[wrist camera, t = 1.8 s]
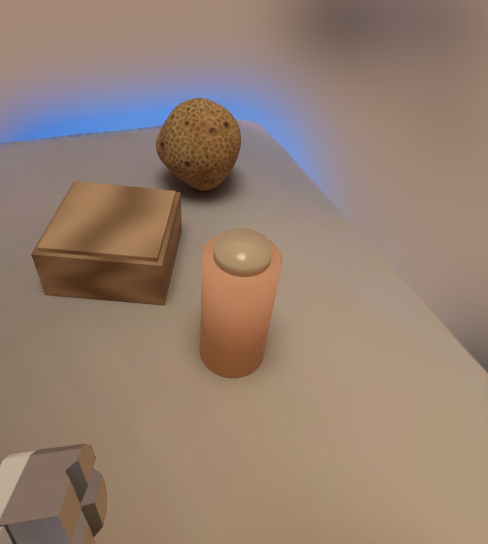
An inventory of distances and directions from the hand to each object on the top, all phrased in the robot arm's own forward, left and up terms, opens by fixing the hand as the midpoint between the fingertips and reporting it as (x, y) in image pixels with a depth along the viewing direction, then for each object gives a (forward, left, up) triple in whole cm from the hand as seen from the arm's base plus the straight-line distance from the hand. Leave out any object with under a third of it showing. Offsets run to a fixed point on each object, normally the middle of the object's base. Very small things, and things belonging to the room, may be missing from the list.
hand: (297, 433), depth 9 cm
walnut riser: (-12, +25, -20) cm, 34 cm away
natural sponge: (-6, +38, -20) cm, 44 cm away
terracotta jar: (-1, +16, -20) cm, 26 cm away
